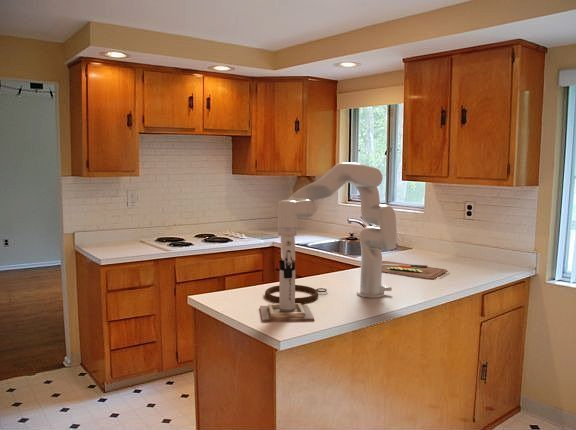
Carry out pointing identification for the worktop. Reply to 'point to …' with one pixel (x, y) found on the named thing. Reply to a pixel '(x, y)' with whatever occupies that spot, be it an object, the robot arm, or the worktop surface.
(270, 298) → the decorative ring
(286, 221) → the robot arm
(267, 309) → the walnut coaster board
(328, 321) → the worktop surface
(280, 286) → the travel mug
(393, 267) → the chopping board
